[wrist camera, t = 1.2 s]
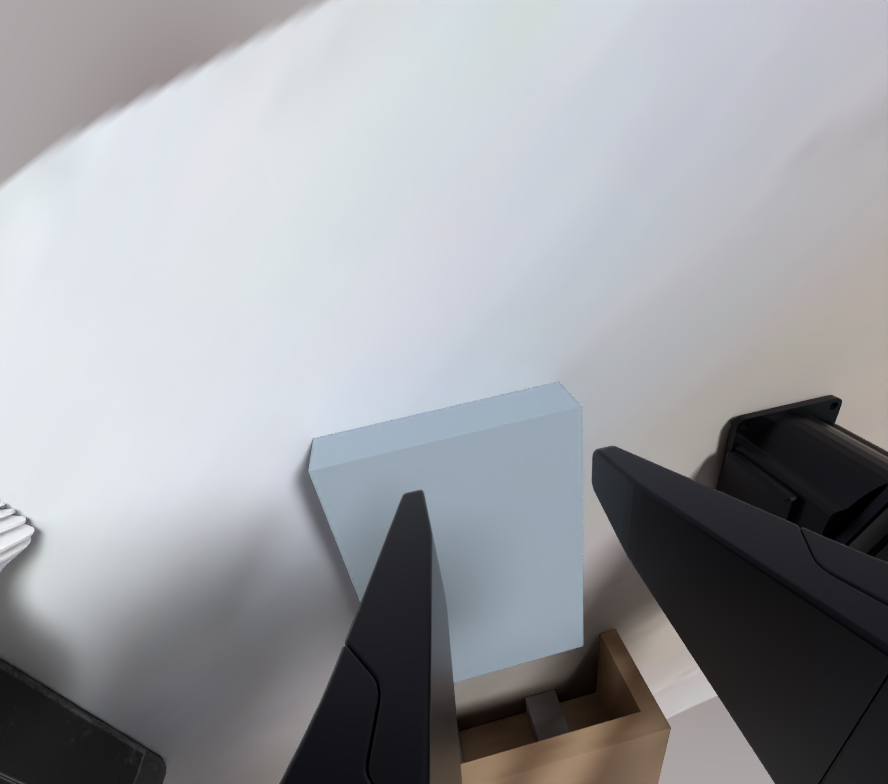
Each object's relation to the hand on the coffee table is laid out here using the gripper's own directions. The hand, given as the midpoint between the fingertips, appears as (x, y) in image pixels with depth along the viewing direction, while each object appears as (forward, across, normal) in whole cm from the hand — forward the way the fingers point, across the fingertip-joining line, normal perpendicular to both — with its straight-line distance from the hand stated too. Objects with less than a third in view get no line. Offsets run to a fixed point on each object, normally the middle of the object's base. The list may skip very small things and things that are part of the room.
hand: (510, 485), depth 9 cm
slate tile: (+12, 0, +14) cm, 18 cm away
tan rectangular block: (+11, 0, +30) cm, 32 cm away
